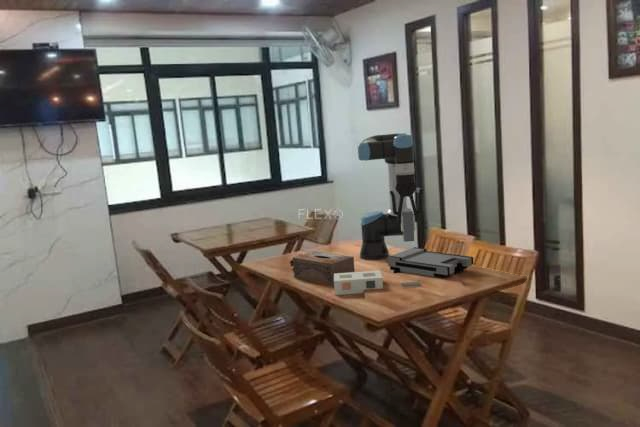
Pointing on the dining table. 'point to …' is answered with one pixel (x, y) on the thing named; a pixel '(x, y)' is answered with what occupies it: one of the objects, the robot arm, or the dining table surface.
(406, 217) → the plug
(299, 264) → the tissue box cover
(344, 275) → the socket block
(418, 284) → the plate
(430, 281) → the dining table surface
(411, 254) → the office tray
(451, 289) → the dining table surface
